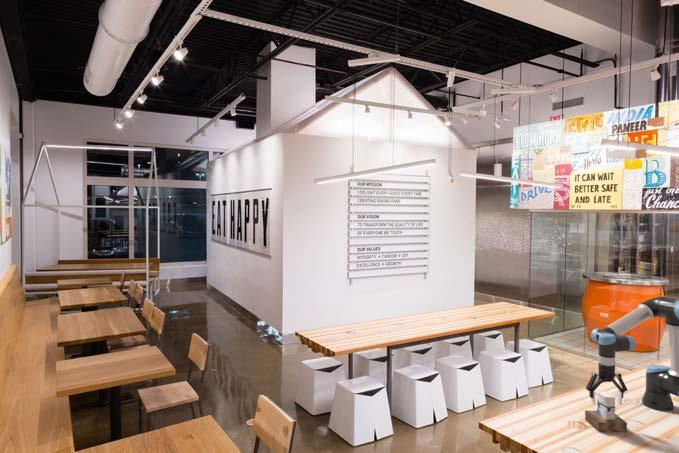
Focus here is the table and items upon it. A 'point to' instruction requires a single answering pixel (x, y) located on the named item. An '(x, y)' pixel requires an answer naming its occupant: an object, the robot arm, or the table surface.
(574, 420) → the table surface
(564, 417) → the table surface
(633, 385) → the table surface
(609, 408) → the ink box
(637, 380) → the table surface
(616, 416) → the walnut pedestal
